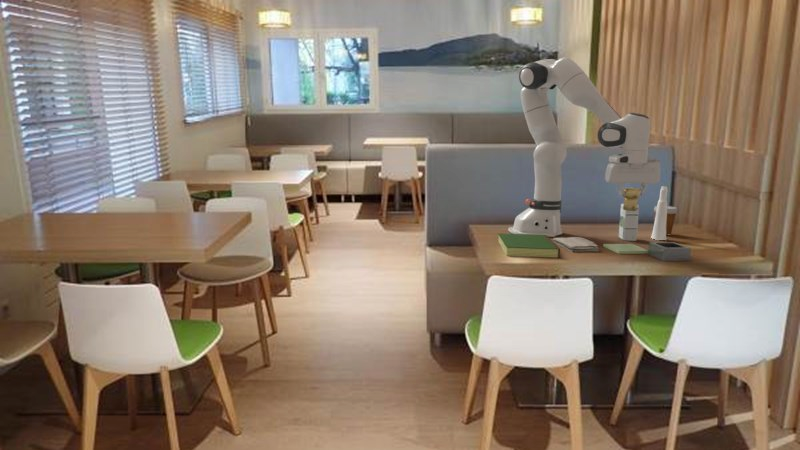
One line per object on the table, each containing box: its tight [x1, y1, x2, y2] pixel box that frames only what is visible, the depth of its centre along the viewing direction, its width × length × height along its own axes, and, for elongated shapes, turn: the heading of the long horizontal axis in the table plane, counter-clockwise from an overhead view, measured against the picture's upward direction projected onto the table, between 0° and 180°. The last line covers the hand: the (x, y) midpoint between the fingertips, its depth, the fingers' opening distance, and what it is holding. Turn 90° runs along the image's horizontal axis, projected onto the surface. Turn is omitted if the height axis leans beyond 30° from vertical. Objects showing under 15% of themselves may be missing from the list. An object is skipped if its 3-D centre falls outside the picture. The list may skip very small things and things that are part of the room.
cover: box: [622, 187, 641, 211], centre depth 221 cm, size 6×6×8 cm
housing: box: [647, 241, 692, 262], centre depth 214 cm, size 10×10×4 cm
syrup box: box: [617, 203, 640, 242], centre depth 243 cm, size 6×6×14 cm
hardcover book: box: [497, 232, 561, 258], centre depth 221 cm, size 25×19×4 cm
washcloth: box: [551, 236, 600, 253], centre depth 227 cm, size 12×18×3 cm, turn 11°
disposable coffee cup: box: [653, 205, 678, 235], centre depth 256 cm, size 10×10×12 cm
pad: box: [602, 243, 649, 255], centre depth 224 cm, size 12×12×1 cm
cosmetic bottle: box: [650, 185, 669, 241], centre depth 244 cm, size 6×6×22 cm
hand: (631, 195), depth 220 cm, fingers closed on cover, 6 cm apart
